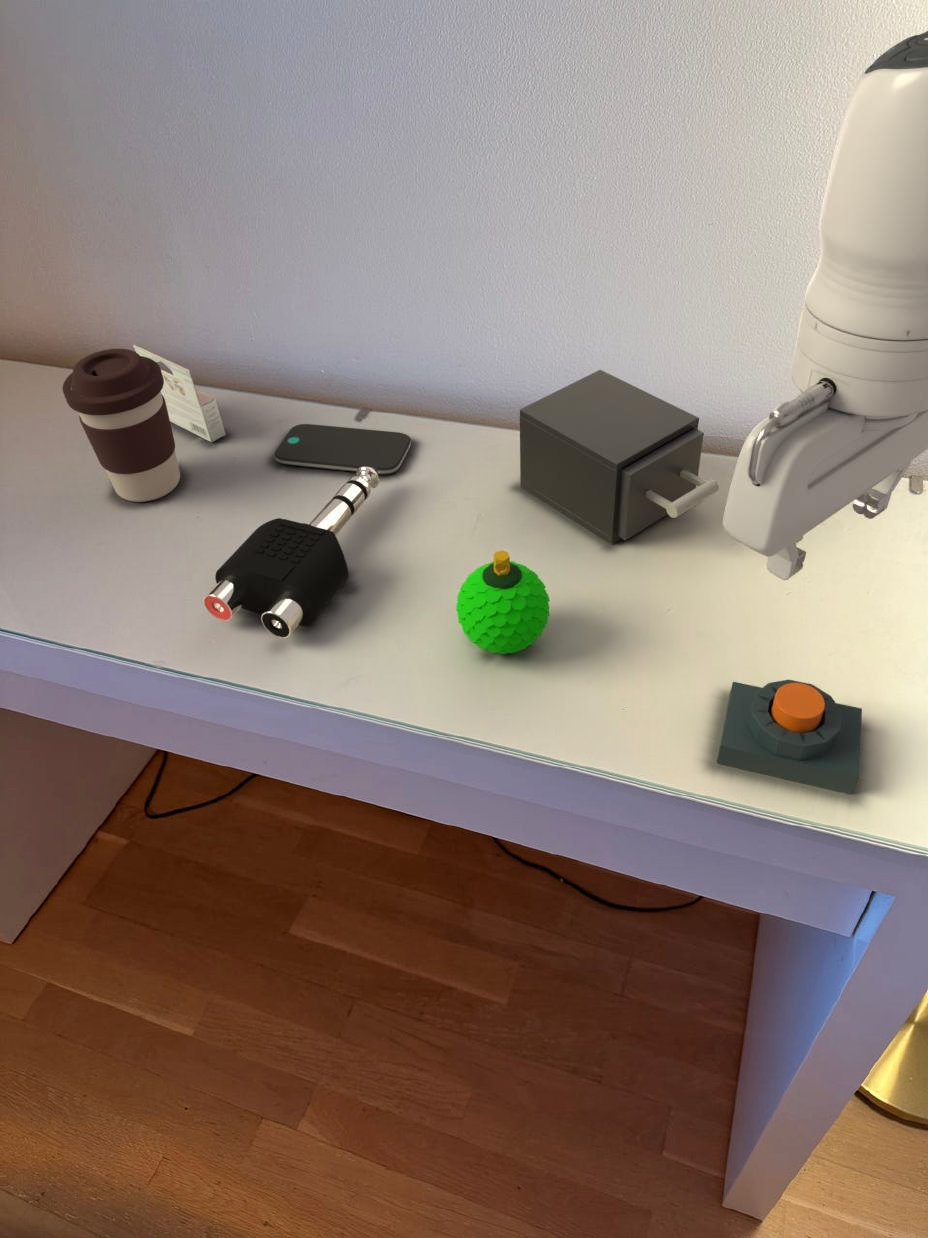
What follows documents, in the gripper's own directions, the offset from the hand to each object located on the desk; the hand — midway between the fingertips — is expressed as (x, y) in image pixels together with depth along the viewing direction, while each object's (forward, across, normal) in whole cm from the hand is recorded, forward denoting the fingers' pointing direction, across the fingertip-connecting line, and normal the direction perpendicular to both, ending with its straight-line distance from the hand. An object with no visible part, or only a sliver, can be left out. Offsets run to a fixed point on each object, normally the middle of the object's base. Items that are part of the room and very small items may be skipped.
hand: (827, 540), depth 63 cm
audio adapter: (+18, -17, +43) cm, 50 cm away
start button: (+15, -2, -2) cm, 15 cm away
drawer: (+17, +12, +28) cm, 35 cm away
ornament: (+18, -11, +22) cm, 31 cm away
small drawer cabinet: (+18, +12, +32) cm, 38 cm away
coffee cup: (+17, -25, +68) cm, 74 cm away
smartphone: (+18, -5, +58) cm, 60 cm away
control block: (+18, -2, -2) cm, 19 cm away
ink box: (+17, -15, +76) cm, 79 cm away
